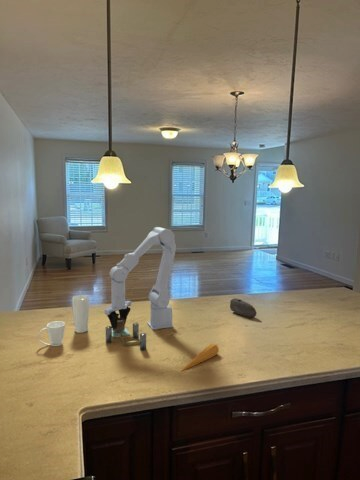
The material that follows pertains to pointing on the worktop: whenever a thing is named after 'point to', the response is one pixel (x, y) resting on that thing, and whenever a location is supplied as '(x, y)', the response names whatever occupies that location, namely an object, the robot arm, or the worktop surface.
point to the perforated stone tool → (242, 308)
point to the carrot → (203, 356)
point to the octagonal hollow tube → (120, 325)
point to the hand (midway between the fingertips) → (118, 326)
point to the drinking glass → (80, 312)
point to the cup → (54, 333)
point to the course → (135, 336)
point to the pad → (120, 333)
